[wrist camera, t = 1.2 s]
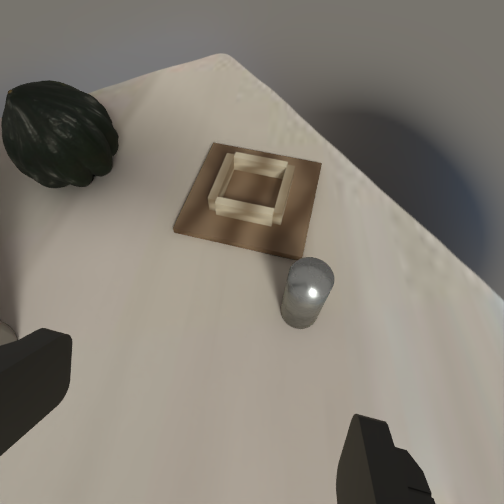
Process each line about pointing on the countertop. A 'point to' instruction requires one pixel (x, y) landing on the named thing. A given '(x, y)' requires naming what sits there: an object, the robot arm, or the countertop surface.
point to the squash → (58, 134)
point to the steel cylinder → (306, 291)
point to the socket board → (251, 201)
